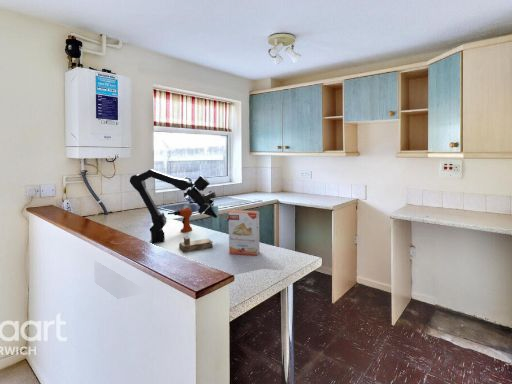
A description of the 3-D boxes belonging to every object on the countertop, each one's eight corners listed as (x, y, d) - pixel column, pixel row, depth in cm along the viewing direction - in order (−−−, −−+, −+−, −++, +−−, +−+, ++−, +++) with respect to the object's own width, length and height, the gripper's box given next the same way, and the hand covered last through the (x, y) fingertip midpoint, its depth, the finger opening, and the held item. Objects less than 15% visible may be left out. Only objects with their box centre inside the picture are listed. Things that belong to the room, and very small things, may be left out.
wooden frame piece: (183, 252, 160) (183, 247, 160) (179, 247, 168) (179, 243, 168) (212, 247, 167) (212, 243, 166) (207, 243, 174) (206, 239, 174)
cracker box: (228, 254, 156) (227, 211, 153) (232, 250, 162) (231, 209, 159) (257, 256, 153) (256, 212, 150) (259, 252, 159) (259, 210, 156)
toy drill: (164, 233, 190) (165, 208, 190) (188, 230, 206) (189, 207, 205) (169, 234, 187) (170, 209, 187) (193, 231, 203) (194, 207, 202)
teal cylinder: (214, 230, 177) (213, 207, 175) (211, 229, 180) (210, 206, 178) (219, 229, 179) (219, 206, 177) (216, 228, 182) (216, 205, 180)
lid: (183, 247, 160) (183, 240, 160) (180, 243, 167) (179, 236, 166) (212, 242, 167) (212, 236, 167) (208, 239, 174) (208, 232, 173)
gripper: (203, 188, 167) (225, 209, 168) (210, 184, 186) (229, 203, 187) (189, 203, 169) (210, 224, 170) (197, 198, 187) (216, 216, 188)
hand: (217, 216), depth 179 cm, fingers closed on teal cylinder, 4 cm apart
